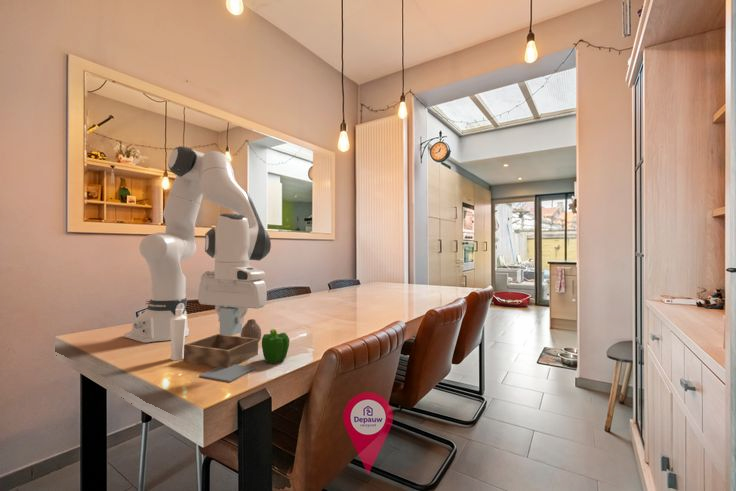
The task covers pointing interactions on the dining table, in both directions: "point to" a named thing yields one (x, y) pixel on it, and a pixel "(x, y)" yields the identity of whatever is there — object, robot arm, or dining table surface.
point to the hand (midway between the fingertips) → (231, 322)
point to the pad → (227, 373)
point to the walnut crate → (220, 350)
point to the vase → (251, 330)
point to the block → (229, 321)
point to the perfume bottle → (178, 335)
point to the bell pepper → (275, 346)
